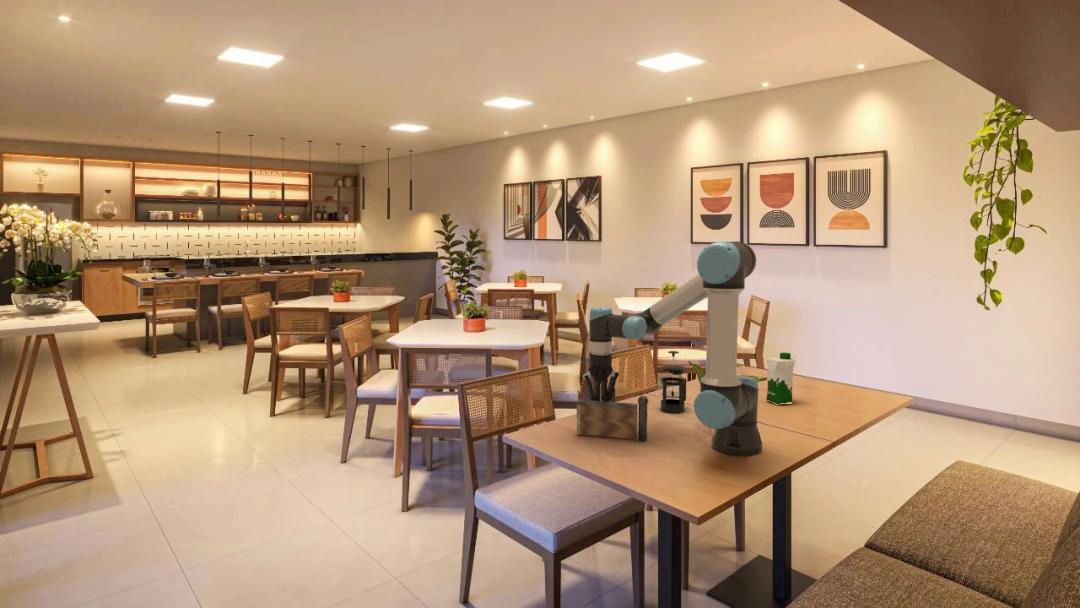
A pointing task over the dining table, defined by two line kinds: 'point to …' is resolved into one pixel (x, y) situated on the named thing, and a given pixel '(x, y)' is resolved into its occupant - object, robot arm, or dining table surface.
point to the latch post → (612, 397)
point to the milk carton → (780, 378)
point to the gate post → (642, 419)
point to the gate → (607, 418)
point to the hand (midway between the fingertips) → (600, 421)
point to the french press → (672, 404)
